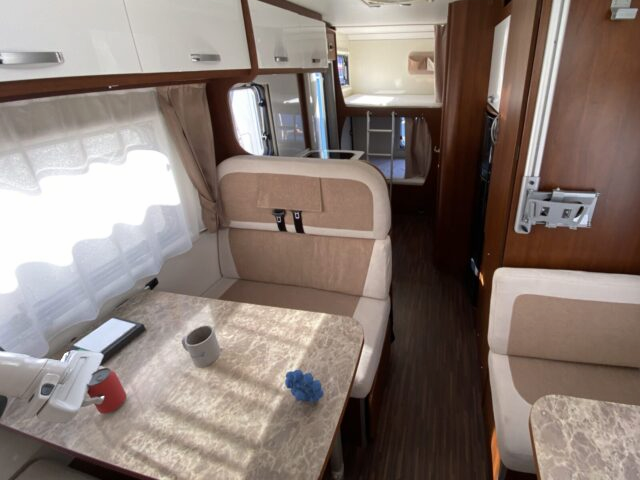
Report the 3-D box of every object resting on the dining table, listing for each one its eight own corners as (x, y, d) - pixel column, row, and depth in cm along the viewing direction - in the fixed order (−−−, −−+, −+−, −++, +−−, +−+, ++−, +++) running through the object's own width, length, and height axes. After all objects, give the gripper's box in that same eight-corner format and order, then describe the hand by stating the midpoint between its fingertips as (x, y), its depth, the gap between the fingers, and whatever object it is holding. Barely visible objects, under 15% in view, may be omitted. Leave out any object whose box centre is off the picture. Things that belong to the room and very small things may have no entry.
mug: (226, 349, 108) (219, 328, 104) (205, 370, 101) (196, 349, 97) (201, 340, 113) (194, 319, 109) (180, 359, 105) (171, 338, 101)
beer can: (104, 419, 87) (87, 391, 82) (95, 407, 90) (79, 380, 86) (131, 399, 92) (116, 372, 87) (122, 388, 95) (108, 362, 91)
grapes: (282, 410, 88) (274, 383, 83) (292, 388, 94) (286, 361, 89) (319, 417, 86) (313, 390, 81) (327, 394, 92) (323, 367, 87)
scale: (100, 365, 104) (96, 357, 103) (70, 355, 109) (65, 347, 107) (145, 329, 118) (142, 322, 117) (117, 321, 123) (113, 314, 121)
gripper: (60, 357, 90) (113, 367, 98) (19, 425, 73) (87, 430, 80) (73, 341, 90) (125, 352, 98) (35, 404, 73) (102, 411, 80)
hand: (108, 387), depth 89 cm, fingers closed on beer can, 6 cm apart
